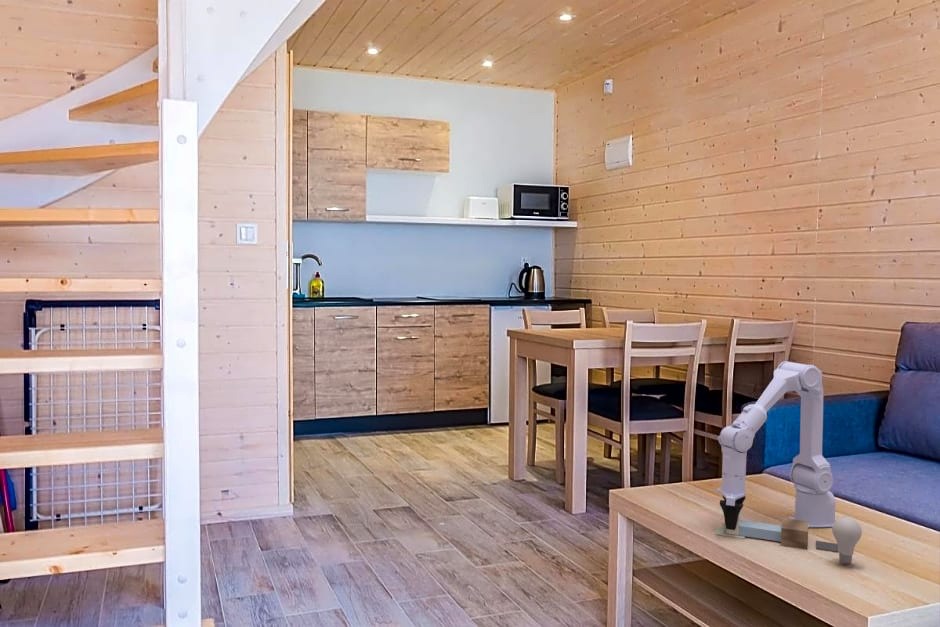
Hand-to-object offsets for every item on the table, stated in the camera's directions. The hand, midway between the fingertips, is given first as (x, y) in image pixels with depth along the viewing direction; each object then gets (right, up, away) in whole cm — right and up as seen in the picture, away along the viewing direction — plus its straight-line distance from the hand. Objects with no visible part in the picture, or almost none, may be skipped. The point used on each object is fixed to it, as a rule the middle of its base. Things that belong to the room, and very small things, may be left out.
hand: (731, 526), depth 196 cm
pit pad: (+21, -3, -9) cm, 23 cm away
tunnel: (+14, -2, -6) cm, 15 cm away
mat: (0, -2, 0) cm, 2 cm away
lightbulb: (+19, -3, -20) cm, 28 cm away
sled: (+5, -2, -2) cm, 5 cm away
